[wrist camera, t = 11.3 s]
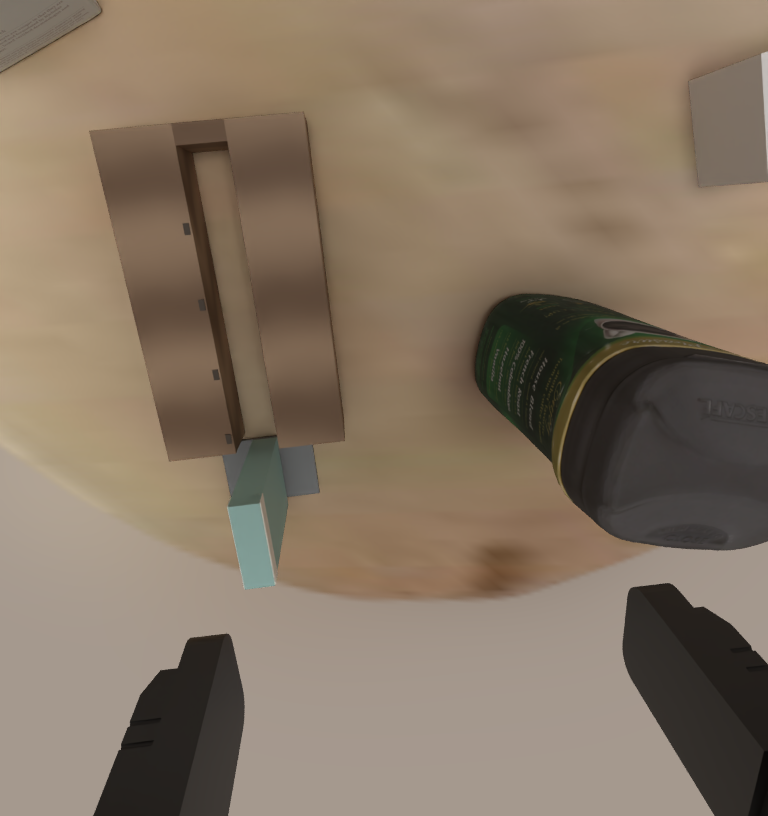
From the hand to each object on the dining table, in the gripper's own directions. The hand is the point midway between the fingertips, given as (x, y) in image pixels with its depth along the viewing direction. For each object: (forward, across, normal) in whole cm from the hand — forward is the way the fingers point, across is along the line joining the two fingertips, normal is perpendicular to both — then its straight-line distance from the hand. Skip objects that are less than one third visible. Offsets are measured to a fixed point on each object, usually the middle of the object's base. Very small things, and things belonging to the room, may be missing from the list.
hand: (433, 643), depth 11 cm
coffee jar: (+26, -12, +2) cm, 29 cm away
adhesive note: (+27, -24, -11) cm, 37 cm away
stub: (+26, +7, +9) cm, 28 cm away
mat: (+26, +7, +8) cm, 28 cm away
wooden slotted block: (+26, +7, -3) cm, 28 cm away
